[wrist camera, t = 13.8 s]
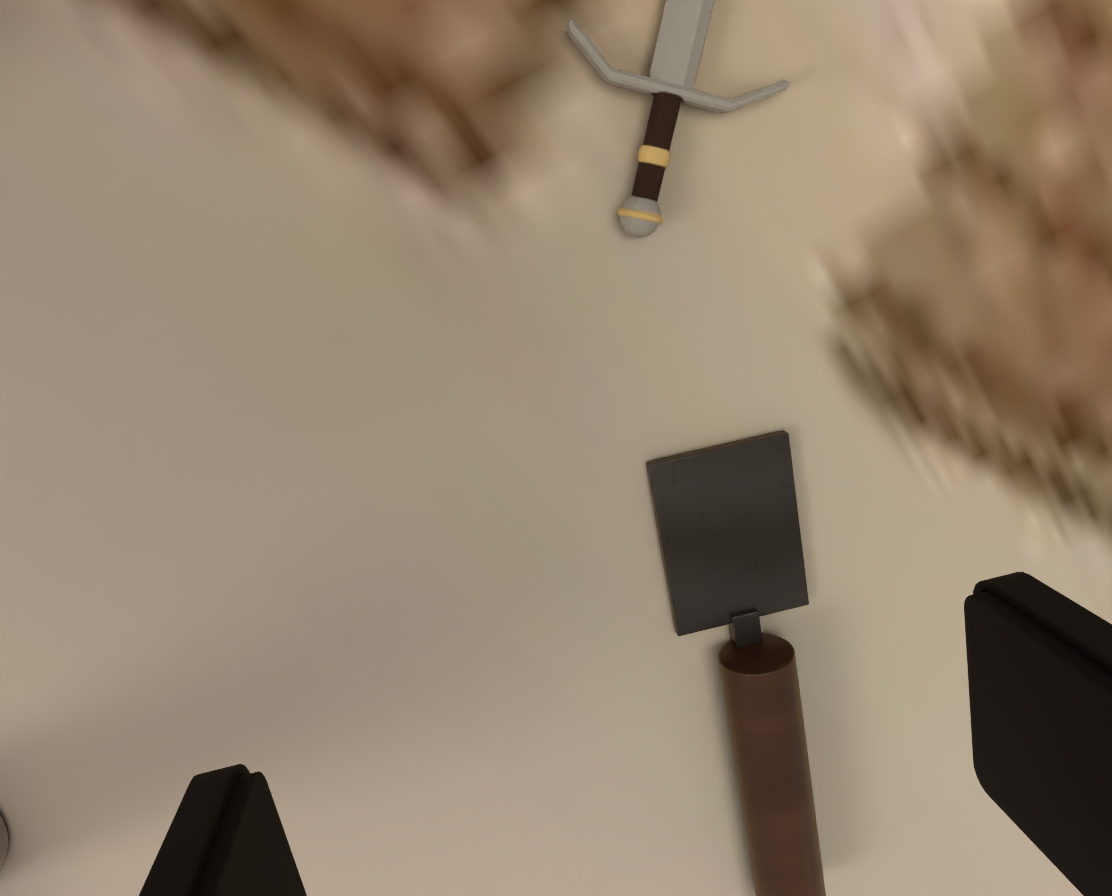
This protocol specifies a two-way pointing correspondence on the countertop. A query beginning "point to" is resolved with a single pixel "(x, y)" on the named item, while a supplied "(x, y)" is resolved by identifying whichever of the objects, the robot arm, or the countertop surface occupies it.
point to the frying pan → (665, 99)
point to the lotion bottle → (3, 842)
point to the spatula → (748, 633)
